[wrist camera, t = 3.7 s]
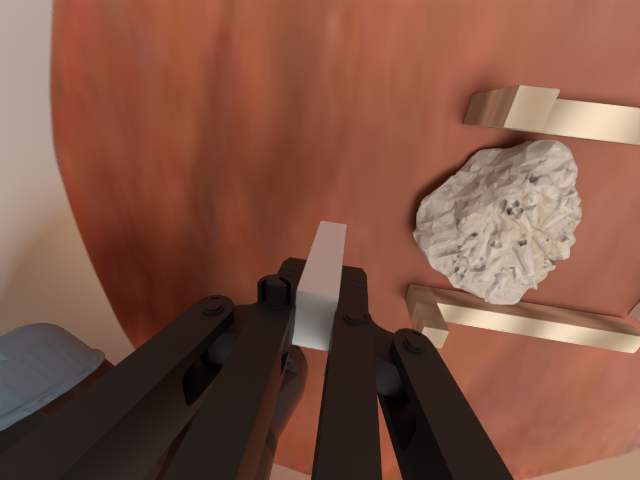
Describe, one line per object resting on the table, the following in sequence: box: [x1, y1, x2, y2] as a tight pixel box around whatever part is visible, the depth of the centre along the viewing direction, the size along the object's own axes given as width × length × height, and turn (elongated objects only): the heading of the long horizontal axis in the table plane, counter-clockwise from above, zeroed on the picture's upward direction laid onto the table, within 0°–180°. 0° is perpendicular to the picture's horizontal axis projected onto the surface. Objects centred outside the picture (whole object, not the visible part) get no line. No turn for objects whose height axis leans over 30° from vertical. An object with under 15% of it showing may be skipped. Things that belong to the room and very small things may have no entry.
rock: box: [413, 139, 582, 305], centre depth 20 cm, size 11×11×6 cm
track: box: [405, 85, 640, 353], centre depth 20 cm, size 20×19×6 cm
